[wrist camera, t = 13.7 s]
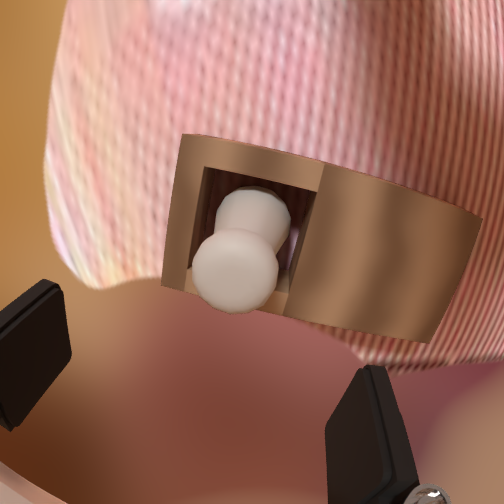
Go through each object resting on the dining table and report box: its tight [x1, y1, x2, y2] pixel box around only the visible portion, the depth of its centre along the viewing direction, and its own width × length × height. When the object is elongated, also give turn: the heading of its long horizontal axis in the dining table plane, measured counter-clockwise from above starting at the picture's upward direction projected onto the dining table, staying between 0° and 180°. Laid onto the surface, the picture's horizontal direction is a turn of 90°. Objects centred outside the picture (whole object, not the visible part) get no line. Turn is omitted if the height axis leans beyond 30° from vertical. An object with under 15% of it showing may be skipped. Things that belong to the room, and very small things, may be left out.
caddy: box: [161, 134, 483, 343], centre depth 25 cm, size 24×12×4 cm, turn 78°
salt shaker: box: [192, 186, 291, 314], centre depth 21 cm, size 6×6×13 cm
